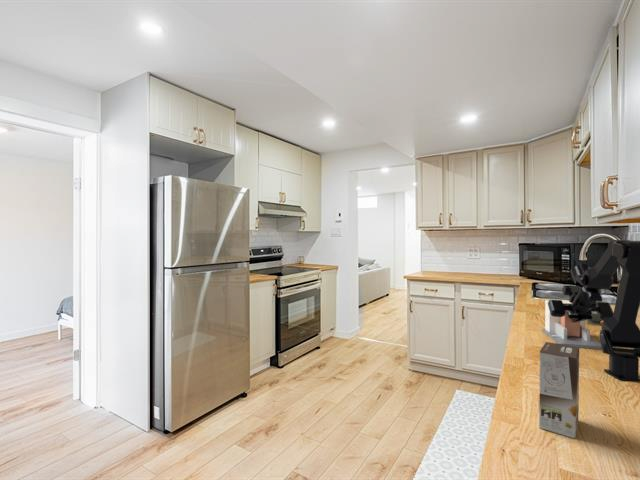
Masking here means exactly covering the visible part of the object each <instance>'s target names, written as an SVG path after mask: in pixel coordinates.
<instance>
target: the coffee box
mask: <svg viewBox="0 0 640 480" xmlns="http://www.w3.org/2000/svg"><path fill="white" fill-rule="evenodd" d="M579 392H580V348H579V347H575V346H570V345H564V344H557V343H556V342H555V343H554V342H549V341H545V343H544V345H543V346H542V347H541V349H540V350H539V400H538V401H539V403H538V405H539V406H538V407H539V409H538V411H539V412H538V427H539V429H542V430H545V431H549V432H552V433H555V434H559V435H561V436H565V437H568V438H572V439H576V436H577V431H578V425H579V413H580V412H579V411H580V409H579V407H580V406H579V405H580V404H579V400H580V399H579V396H580V393H579Z"/></svg>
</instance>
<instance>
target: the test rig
mask: <svg viewBox="0 0 640 480" xmlns="http://www.w3.org/2000/svg"><path fill="white" fill-rule="evenodd" d="M549 300H550V299H545V303H544V304H545V305H544V306H545V307H544V309H545V311H544V313H545V314H544V315H545V316H544V318H545V320H544V322H545V323H544V328H541V331H542V332H543V334H545V335H546V336H547V337H549V338H550V339H551V340H552V341H553V342H555V343H557V344H564V345H570V346H575V347H579V349H580V348H581V349H594V350H602V347H601V341H599V340H597V339H596V338H594V337H592V336H591V330H590V329H588V328H586V320H584V321H580V337H577V336H567V329H566V328H565V327H563V326H562V325H561V317H553V316H552V315H551V313H550V310H549V306H548V302H549ZM562 302H563V304H572V303H571V302H569V300H562Z"/></svg>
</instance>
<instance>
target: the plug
mask: <svg viewBox="0 0 640 480" xmlns="http://www.w3.org/2000/svg"><path fill="white" fill-rule="evenodd" d="M561 325H562V326H563V327H565V328H566V329H567V336H577V337H580V321H579V322H575V323H572V321H571V318H569V317H568V315H567V311H566V310H565V316H563V317H561Z"/></svg>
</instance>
